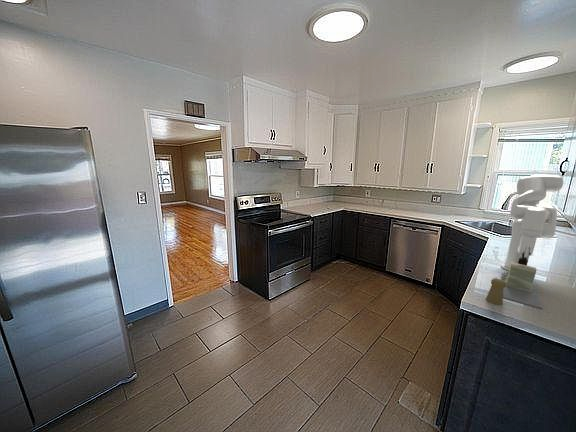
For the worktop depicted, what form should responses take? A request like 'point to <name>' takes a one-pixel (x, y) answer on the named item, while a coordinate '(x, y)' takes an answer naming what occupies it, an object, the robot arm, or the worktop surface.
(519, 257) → the robot arm
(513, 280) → the maple plaque
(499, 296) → the cork
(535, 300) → the rubber mat
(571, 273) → the worktop surface
